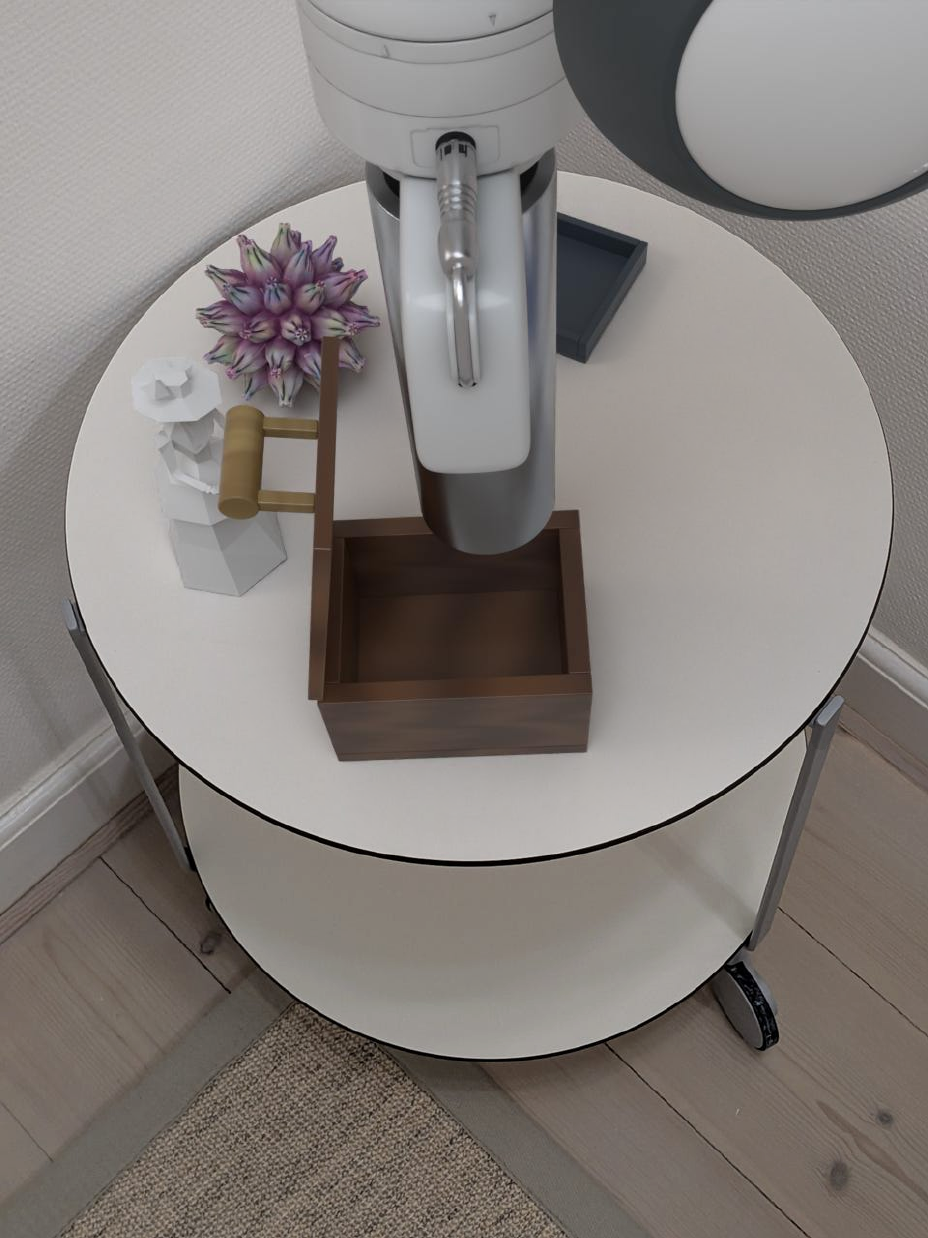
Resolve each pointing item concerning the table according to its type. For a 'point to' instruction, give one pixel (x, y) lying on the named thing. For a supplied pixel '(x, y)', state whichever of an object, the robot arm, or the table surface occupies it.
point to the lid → (247, 498)
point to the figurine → (200, 481)
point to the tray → (591, 281)
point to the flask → (524, 496)
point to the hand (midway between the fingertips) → (475, 341)
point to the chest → (455, 644)
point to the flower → (284, 314)
